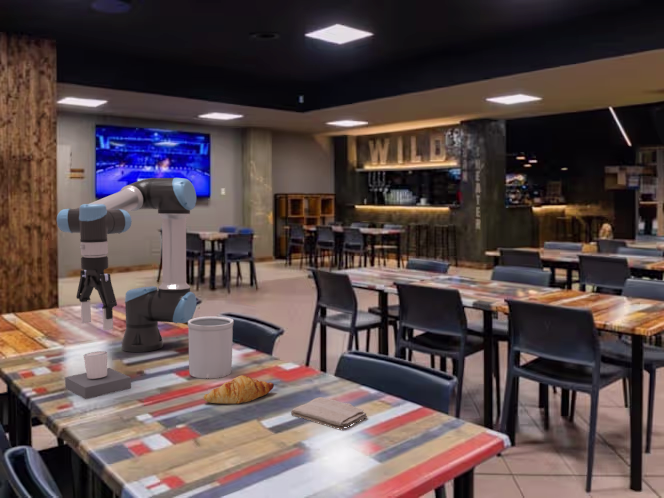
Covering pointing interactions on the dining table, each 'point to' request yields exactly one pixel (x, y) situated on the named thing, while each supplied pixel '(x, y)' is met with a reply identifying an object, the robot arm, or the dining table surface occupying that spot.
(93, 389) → the block
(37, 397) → the dining table surface
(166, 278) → the robot arm
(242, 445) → the dining table surface
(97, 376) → the shot glass
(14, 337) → the dining table surface
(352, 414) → the washcloth
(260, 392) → the croissant
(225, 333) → the utensil holder
